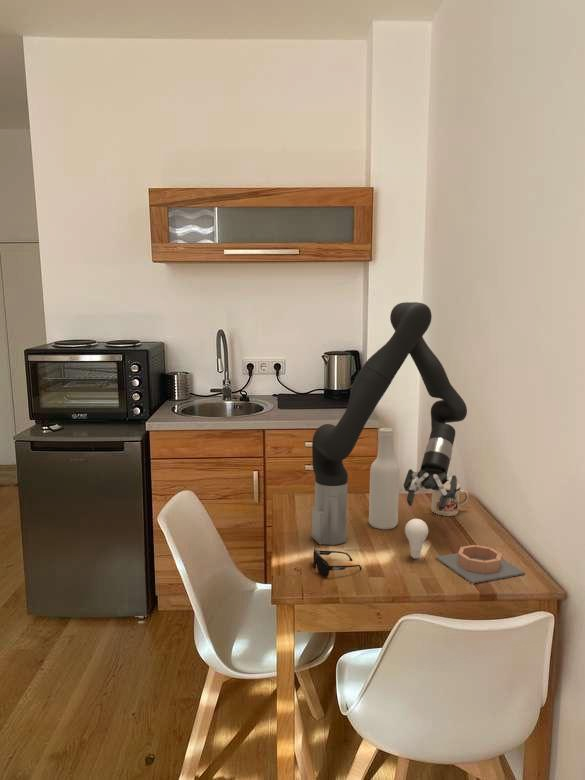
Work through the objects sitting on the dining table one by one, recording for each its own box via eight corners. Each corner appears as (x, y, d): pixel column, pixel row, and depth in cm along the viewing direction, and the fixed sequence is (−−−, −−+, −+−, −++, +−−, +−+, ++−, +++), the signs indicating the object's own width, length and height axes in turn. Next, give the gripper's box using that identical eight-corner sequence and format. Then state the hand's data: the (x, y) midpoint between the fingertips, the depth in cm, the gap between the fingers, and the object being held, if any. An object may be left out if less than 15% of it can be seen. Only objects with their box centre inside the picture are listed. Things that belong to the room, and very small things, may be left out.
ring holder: (472, 584, 156) (473, 570, 156) (435, 558, 171) (436, 546, 170) (524, 574, 162) (525, 561, 161) (484, 550, 177) (485, 538, 176)
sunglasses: (306, 563, 168) (309, 545, 167) (347, 563, 172) (350, 545, 171) (321, 580, 158) (324, 561, 158) (364, 579, 162) (367, 560, 162)
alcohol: (395, 519, 200) (399, 426, 195) (399, 530, 191) (403, 432, 186) (367, 519, 200) (370, 425, 195) (369, 529, 191) (372, 432, 187)
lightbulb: (429, 563, 168) (430, 523, 166) (405, 563, 168) (407, 523, 166) (424, 554, 174) (426, 515, 172) (402, 553, 174) (403, 515, 172)
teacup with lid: (434, 516, 203) (436, 481, 201) (427, 507, 212) (428, 473, 210) (471, 516, 203) (473, 481, 202) (463, 507, 212) (465, 473, 210)
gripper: (410, 447, 185) (397, 496, 176) (460, 453, 178) (449, 504, 170) (415, 460, 190) (402, 509, 182) (463, 467, 184) (452, 517, 176)
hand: (425, 506), depth 176 cm, fingers open, 8 cm apart
